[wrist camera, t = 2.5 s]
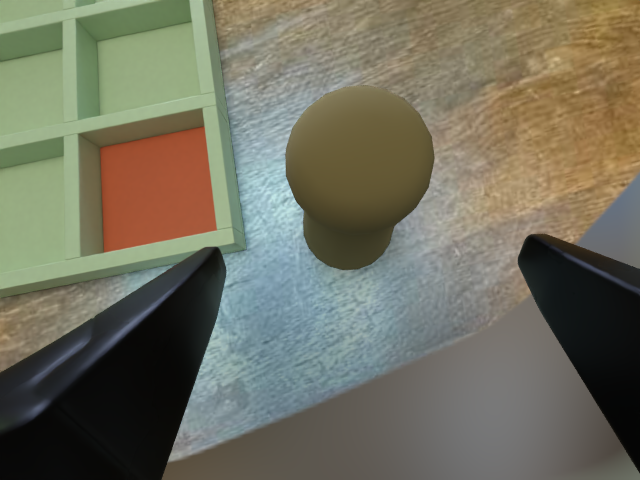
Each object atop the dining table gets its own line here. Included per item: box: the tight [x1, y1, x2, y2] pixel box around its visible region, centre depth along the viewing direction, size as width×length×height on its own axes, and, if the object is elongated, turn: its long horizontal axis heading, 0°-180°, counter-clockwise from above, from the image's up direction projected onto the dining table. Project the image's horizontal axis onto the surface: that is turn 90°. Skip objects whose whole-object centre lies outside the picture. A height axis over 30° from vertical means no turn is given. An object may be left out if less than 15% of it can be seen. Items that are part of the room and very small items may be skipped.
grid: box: [0, 0, 246, 298], centre depth 23 cm, size 39×20×2 cm, turn 11°
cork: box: [285, 85, 434, 270], centre depth 14 cm, size 6×6×11 cm
